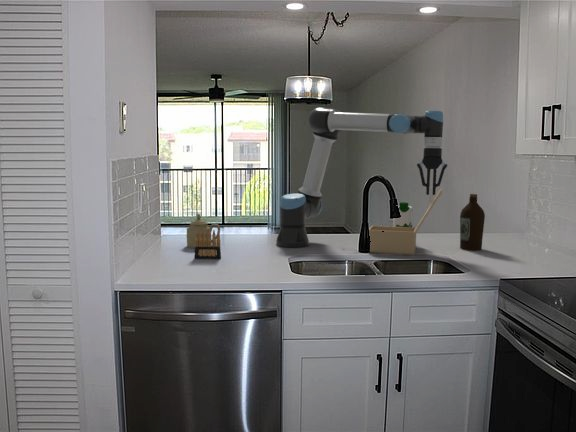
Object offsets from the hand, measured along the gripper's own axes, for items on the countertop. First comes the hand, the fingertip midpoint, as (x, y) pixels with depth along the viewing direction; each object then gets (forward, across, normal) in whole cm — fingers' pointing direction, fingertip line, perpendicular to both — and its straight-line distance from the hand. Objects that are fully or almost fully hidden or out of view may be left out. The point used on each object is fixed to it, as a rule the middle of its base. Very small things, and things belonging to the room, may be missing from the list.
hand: (430, 202), depth 246 cm
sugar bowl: (+23, -100, -15) cm, 103 cm away
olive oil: (+23, +18, +17) cm, 34 cm away
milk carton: (+23, -13, +19) cm, 32 cm away
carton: (+22, -16, 0) cm, 27 cm away
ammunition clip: (+23, -87, -40) cm, 98 cm away
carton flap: (+3, -1, 0) cm, 3 cm away
